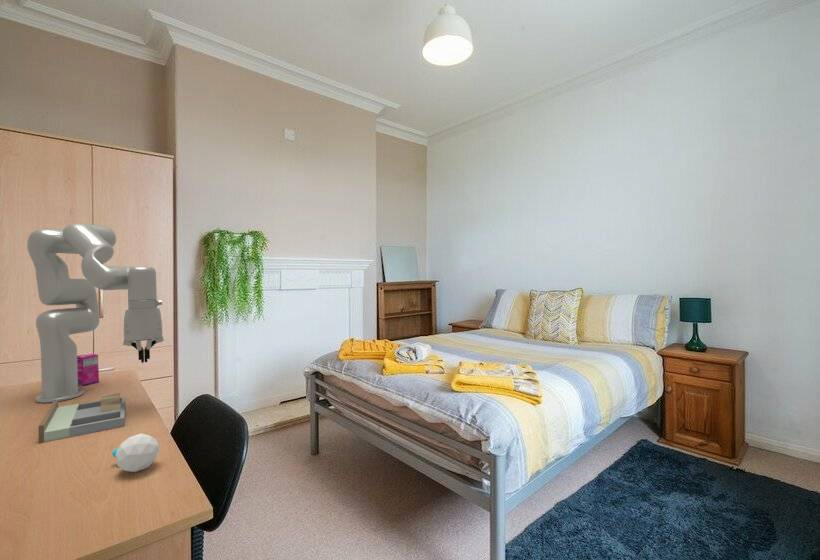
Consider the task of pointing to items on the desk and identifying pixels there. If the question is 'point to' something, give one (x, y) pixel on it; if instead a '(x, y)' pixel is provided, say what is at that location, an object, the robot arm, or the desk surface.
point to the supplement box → (87, 369)
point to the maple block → (110, 402)
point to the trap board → (79, 420)
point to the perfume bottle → (136, 452)
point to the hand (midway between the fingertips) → (144, 361)
